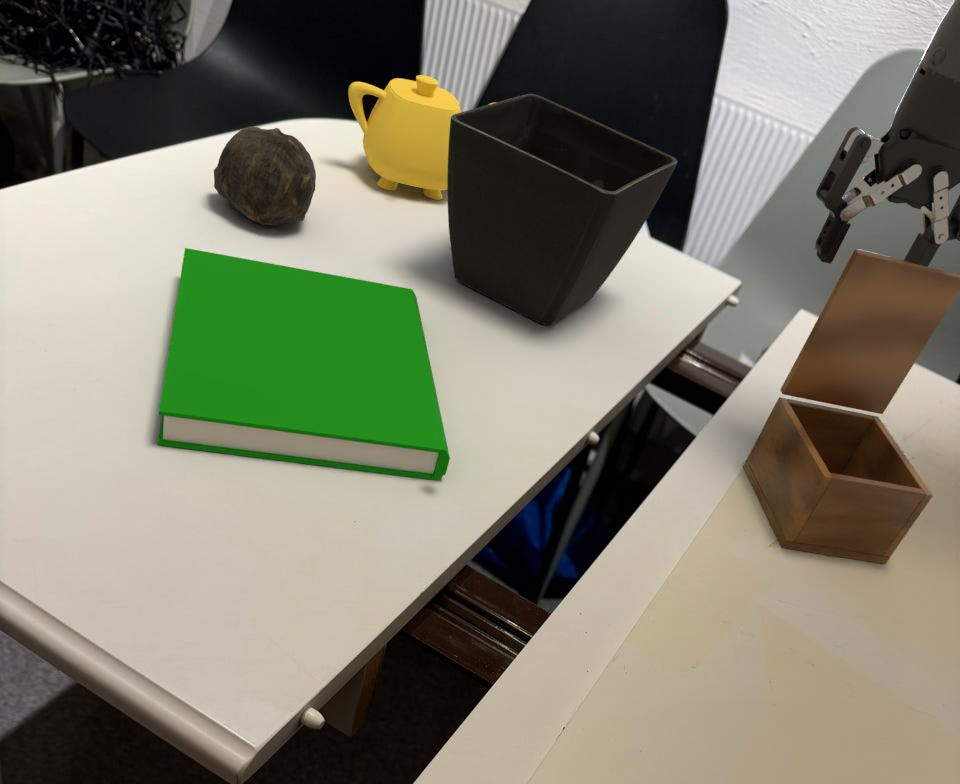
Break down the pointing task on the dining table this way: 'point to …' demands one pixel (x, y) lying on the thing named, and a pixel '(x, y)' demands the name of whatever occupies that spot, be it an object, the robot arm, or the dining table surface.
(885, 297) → the lid
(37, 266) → the dining table surface
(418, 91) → the teapot
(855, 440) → the open wooden box
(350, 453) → the book
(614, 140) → the flower pot
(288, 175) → the rock
